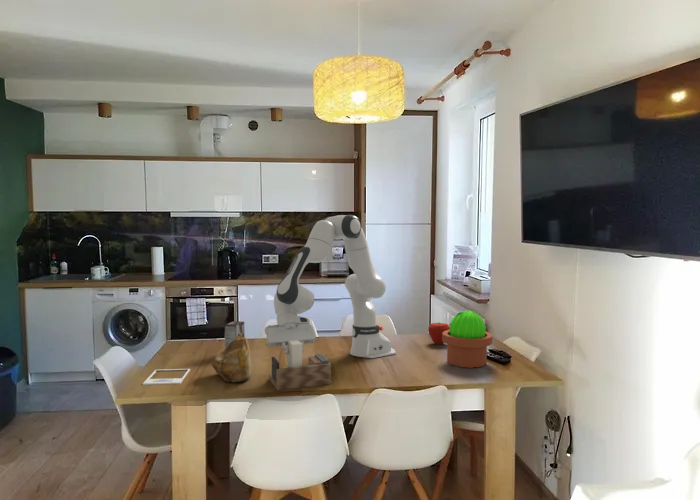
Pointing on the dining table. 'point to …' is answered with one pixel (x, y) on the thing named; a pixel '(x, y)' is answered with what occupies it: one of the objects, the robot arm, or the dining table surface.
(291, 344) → the white rectangular block
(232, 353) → the rough brown rock
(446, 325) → the apple
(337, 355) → the dining table surface
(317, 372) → the shelf
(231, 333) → the coffee box
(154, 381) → the photo frame
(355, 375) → the dining table surface
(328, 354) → the dining table surface
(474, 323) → the potted cactus
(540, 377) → the dining table surface
